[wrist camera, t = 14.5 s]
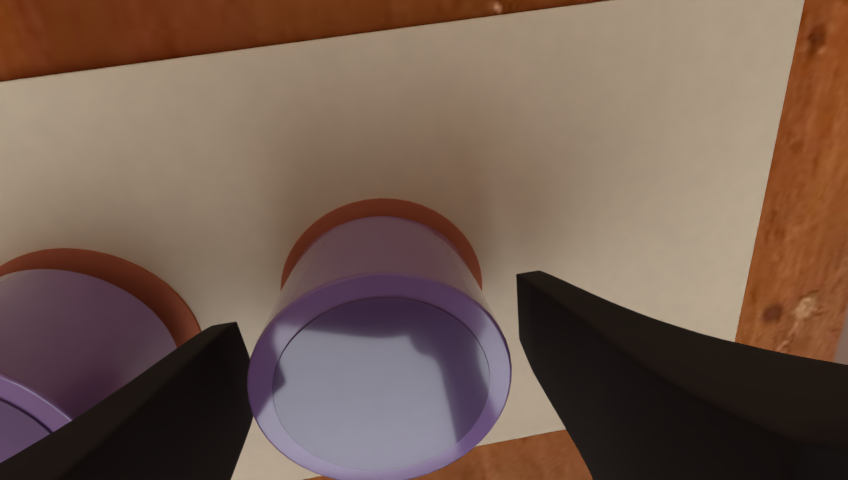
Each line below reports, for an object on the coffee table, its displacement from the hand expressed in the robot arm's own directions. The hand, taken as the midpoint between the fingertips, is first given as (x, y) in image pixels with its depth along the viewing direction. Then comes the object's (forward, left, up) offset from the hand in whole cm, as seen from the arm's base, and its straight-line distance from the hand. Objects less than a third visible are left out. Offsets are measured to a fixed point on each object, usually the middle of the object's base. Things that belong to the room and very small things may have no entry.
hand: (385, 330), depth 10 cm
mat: (0, 0, -2) cm, 2 cm away
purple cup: (0, 0, -2) cm, 2 cm away
